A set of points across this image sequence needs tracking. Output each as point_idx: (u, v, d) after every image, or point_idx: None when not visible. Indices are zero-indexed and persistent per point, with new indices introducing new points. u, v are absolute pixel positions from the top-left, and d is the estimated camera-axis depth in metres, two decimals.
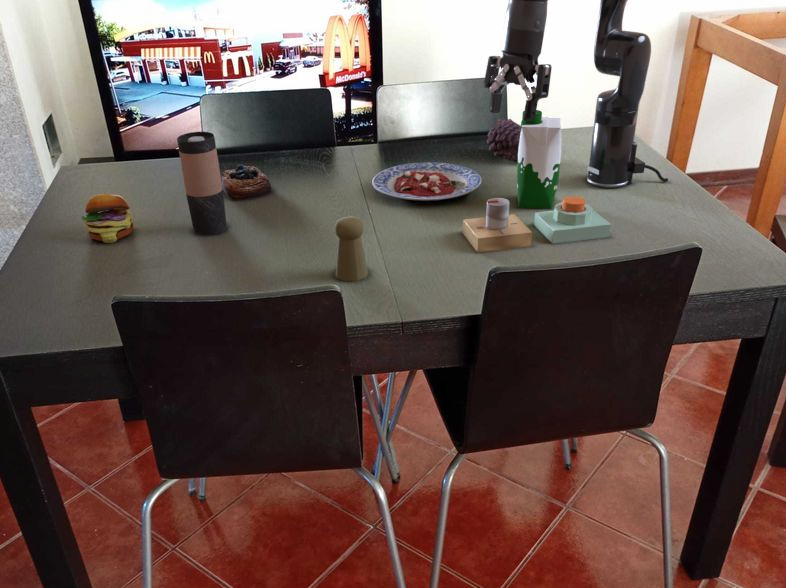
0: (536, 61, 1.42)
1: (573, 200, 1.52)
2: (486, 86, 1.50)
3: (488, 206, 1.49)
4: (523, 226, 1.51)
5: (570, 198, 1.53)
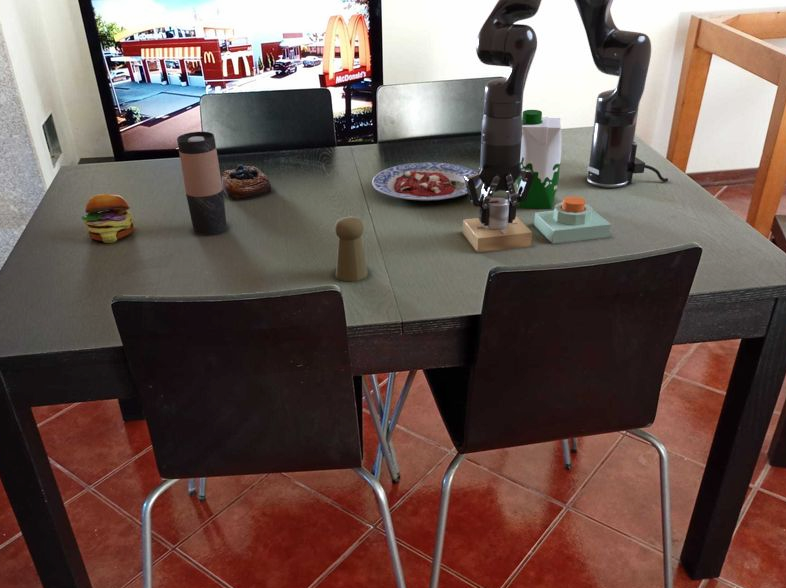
0: None
1: (573, 200, 1.52)
2: (477, 205, 1.47)
3: (488, 206, 1.49)
4: (523, 226, 1.51)
5: (570, 198, 1.53)
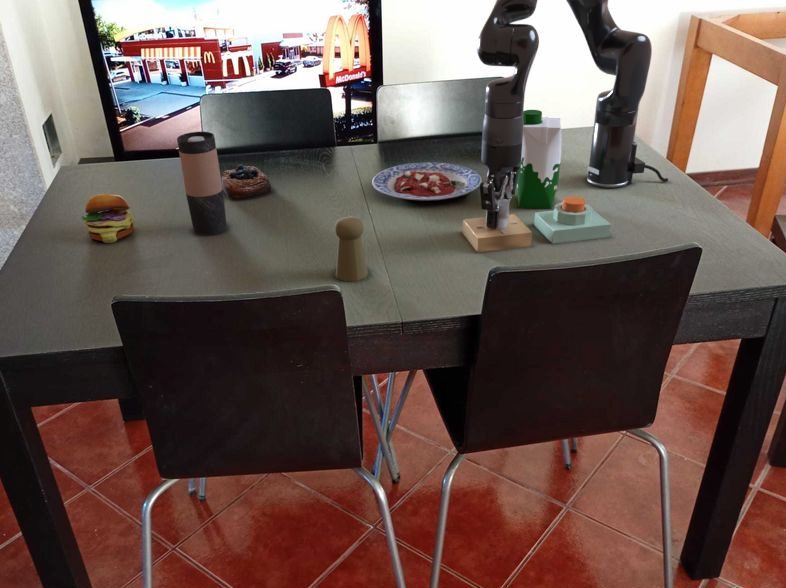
0: None
1: (573, 200, 1.52)
2: (494, 209, 1.45)
3: None
4: (523, 226, 1.51)
5: (570, 198, 1.53)
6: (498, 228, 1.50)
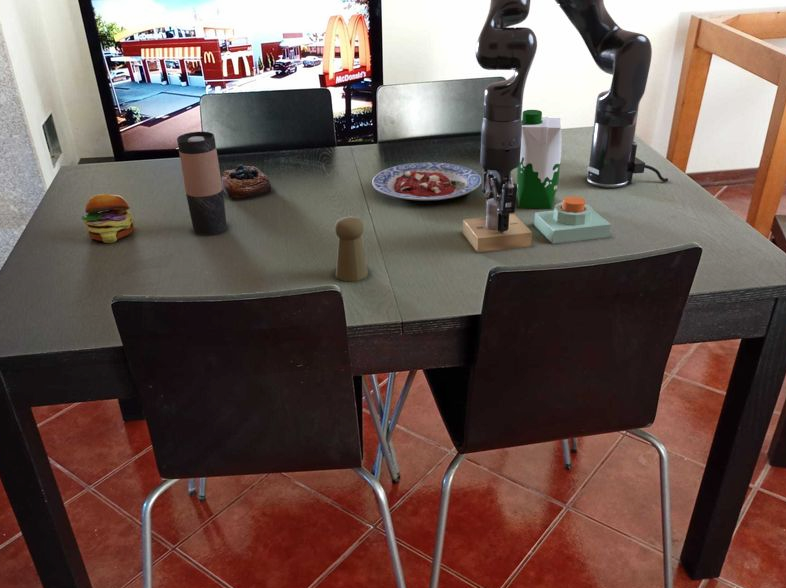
0: None
1: (573, 200, 1.52)
2: None
3: None
4: (523, 226, 1.51)
5: (570, 198, 1.53)
6: None
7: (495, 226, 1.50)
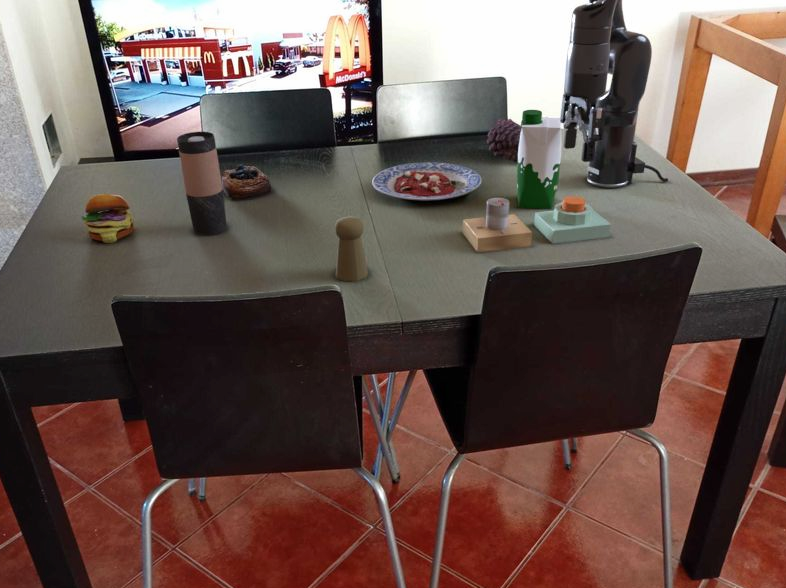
0: None
1: (573, 200, 1.52)
2: None
3: (504, 207, 1.48)
4: (523, 226, 1.51)
5: (570, 198, 1.53)
6: (506, 226, 1.50)
7: (495, 226, 1.50)
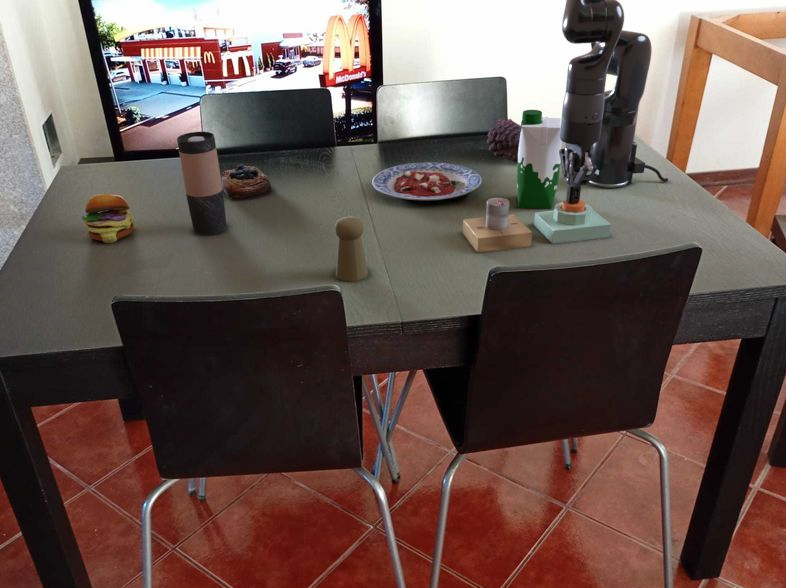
0: None
1: None
2: None
3: (504, 207, 1.48)
4: (523, 226, 1.51)
5: None
6: (506, 226, 1.50)
7: (495, 226, 1.50)
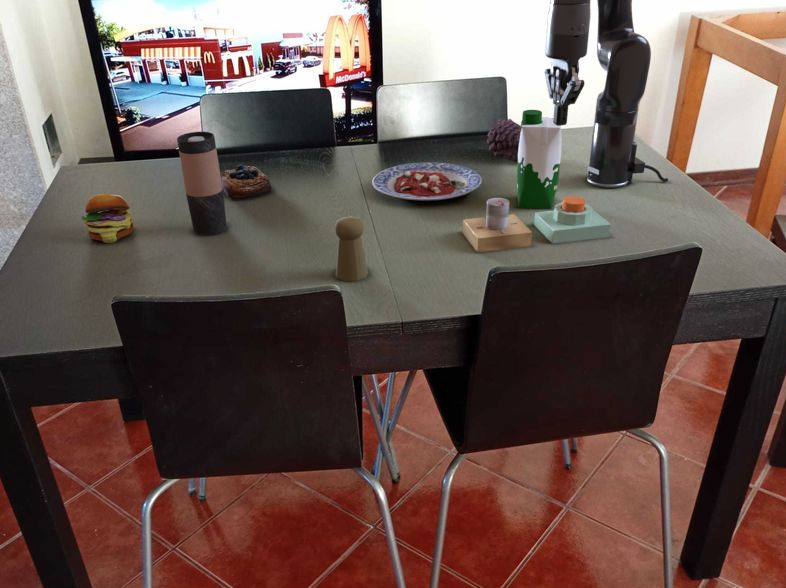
0: None
1: (573, 200, 1.52)
2: None
3: (504, 207, 1.48)
4: (523, 226, 1.51)
5: (570, 198, 1.53)
6: (506, 226, 1.50)
7: (495, 226, 1.50)
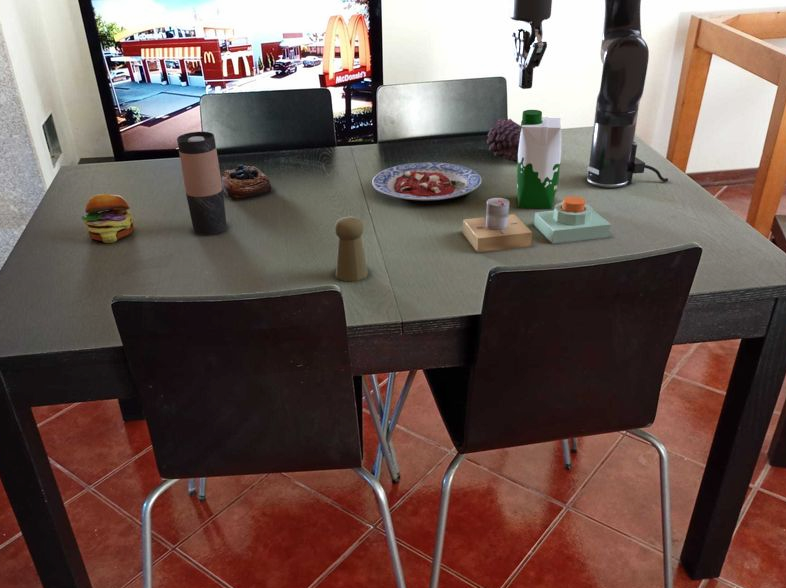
0: None
1: (573, 200, 1.52)
2: None
3: (504, 207, 1.48)
4: (523, 226, 1.51)
5: (570, 198, 1.53)
6: (506, 226, 1.50)
7: (495, 226, 1.50)
